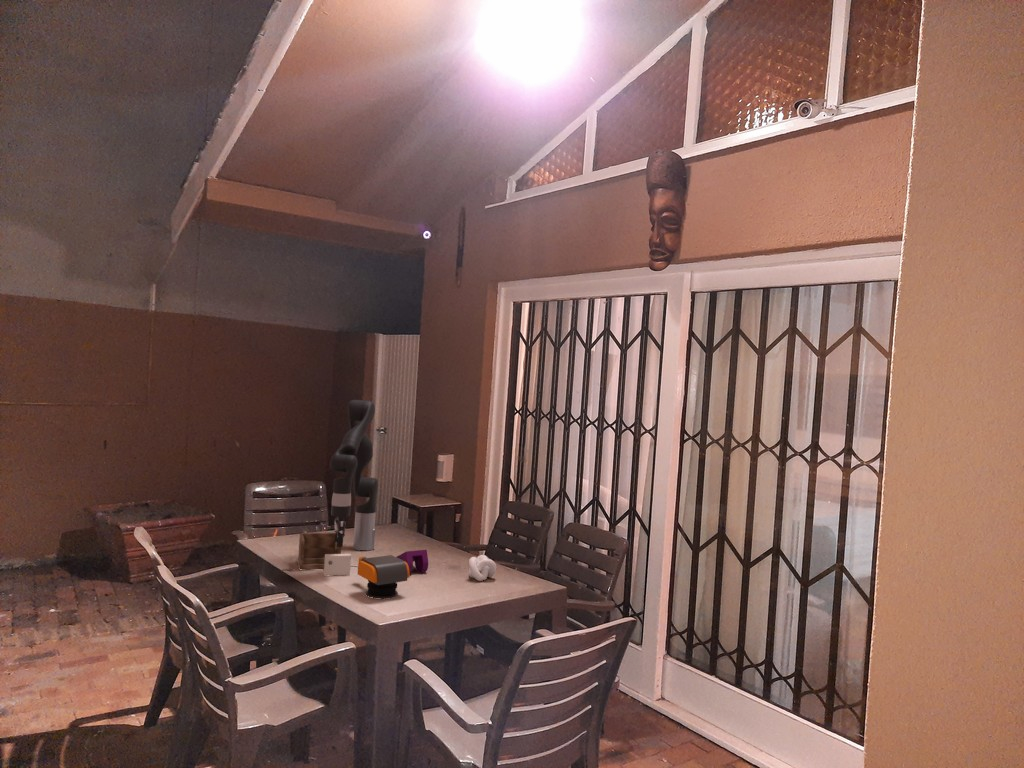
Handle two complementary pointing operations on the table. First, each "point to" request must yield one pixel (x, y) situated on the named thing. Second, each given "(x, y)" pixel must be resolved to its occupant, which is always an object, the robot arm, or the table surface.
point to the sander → (383, 575)
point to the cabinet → (316, 549)
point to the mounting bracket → (418, 557)
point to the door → (337, 564)
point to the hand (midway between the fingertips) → (338, 544)
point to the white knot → (481, 567)
